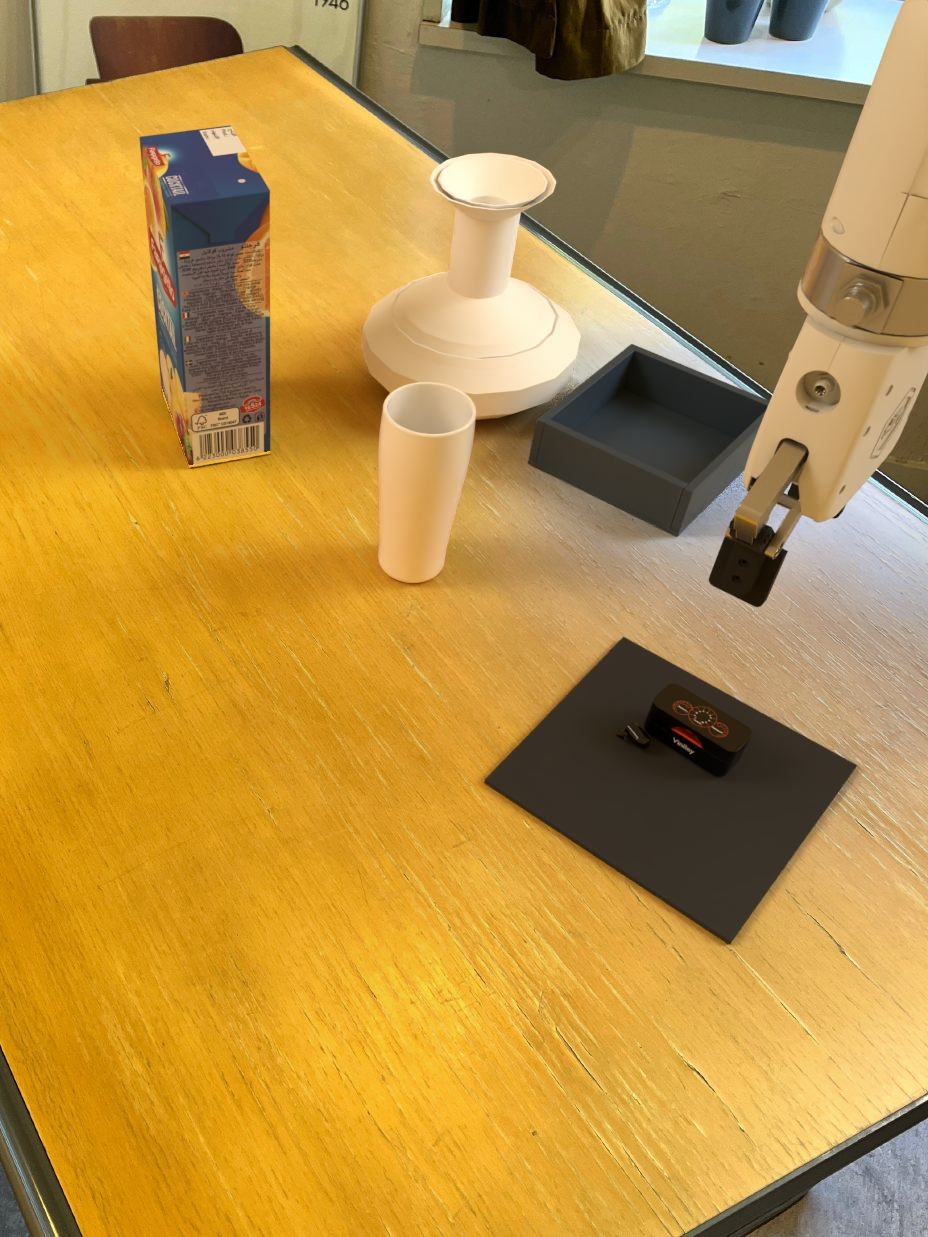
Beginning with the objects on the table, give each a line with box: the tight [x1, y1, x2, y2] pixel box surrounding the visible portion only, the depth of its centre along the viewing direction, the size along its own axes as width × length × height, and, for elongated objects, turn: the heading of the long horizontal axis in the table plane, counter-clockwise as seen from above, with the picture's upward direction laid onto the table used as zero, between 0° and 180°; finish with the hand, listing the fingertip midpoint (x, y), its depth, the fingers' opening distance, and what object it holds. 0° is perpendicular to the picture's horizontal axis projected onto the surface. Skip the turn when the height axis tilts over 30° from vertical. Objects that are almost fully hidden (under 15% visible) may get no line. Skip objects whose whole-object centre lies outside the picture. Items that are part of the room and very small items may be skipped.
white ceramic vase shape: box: [361, 152, 582, 421], centre depth 101 cm, size 20×20×19 cm
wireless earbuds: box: [616, 683, 752, 777], centre depth 76 cm, size 5×7×3 cm, turn 44°
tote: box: [527, 343, 770, 538], centre depth 98 cm, size 15×16×5 cm
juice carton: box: [138, 124, 271, 465], centre depth 95 cm, size 12×8×24 cm, turn 15°
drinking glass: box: [377, 382, 476, 584], centre depth 85 cm, size 7×7×15 cm
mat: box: [483, 636, 858, 945], centre depth 77 cm, size 18×18×1 cm
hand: (775, 548), depth 65 cm, fingers open, 9 cm apart
